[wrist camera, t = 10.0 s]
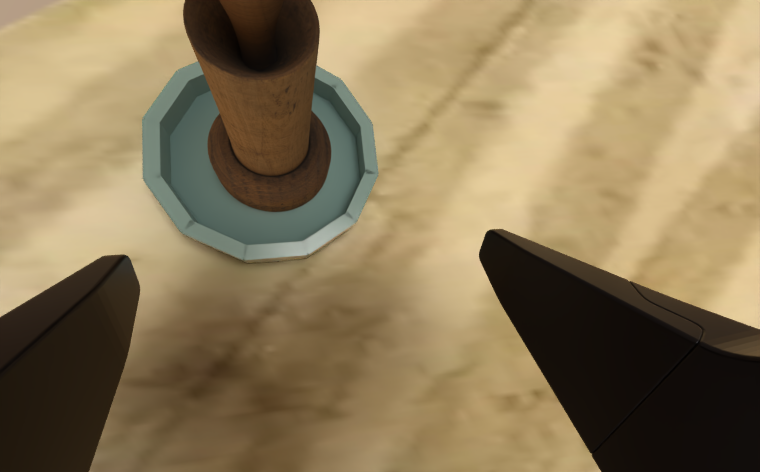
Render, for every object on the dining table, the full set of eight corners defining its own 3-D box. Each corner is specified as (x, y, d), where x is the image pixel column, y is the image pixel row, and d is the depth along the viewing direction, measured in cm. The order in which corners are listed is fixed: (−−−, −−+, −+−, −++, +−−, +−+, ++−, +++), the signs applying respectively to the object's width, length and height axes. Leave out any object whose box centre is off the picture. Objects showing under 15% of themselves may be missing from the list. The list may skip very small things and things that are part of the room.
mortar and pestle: (230, 224, 19) (-271, -365, 2) (203, 122, 20) (-356, -974, 3) (340, 198, 21) (543, -221, 4) (312, 106, 22) (383, -594, 5)
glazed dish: (239, 304, 19) (233, 305, 17) (112, 126, 19) (90, 106, 17) (403, 193, 23) (414, 182, 21) (298, 44, 23) (299, 19, 21)
